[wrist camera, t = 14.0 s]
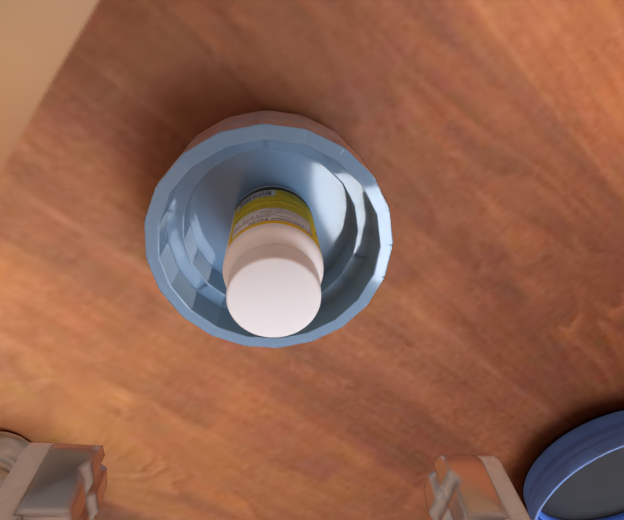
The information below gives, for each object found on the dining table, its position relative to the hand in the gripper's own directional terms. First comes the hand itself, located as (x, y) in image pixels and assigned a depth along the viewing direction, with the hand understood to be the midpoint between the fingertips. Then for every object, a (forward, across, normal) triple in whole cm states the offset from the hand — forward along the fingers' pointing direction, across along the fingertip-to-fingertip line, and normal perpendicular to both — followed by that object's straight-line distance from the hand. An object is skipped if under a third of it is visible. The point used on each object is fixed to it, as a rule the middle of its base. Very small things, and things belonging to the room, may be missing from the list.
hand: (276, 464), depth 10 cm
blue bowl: (+17, 0, +1) cm, 17 cm away
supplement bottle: (+16, 0, +1) cm, 17 cm away
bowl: (+17, -34, +22) cm, 44 cm away
